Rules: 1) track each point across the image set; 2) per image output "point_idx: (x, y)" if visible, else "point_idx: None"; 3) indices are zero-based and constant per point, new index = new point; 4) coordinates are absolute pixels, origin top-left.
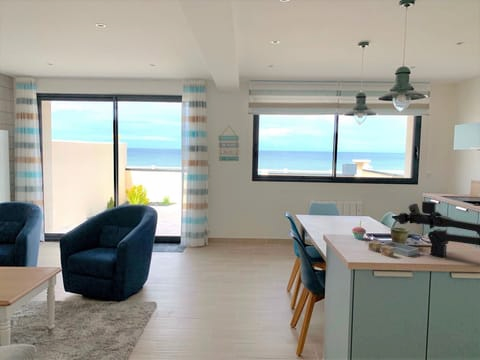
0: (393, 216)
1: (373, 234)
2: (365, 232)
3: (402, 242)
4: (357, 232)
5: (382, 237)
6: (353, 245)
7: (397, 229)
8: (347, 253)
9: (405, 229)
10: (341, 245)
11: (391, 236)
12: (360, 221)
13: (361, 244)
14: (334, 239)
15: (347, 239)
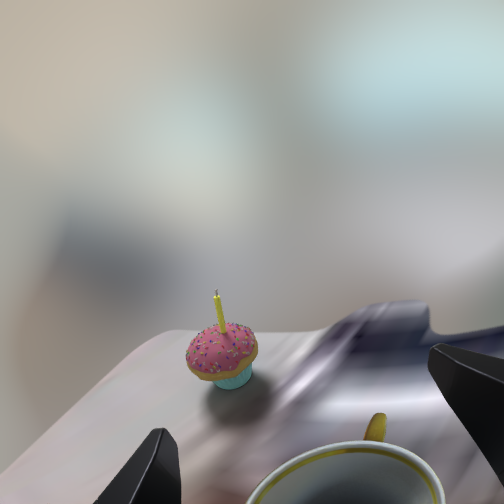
0: (141, 458)
1: (366, 324)
2: (232, 372)
3: None
4: (189, 367)
5: (379, 369)
6: (95, 453)
7: (381, 457)
8: (3, 485)
9: (436, 496)
10: (67, 432)
11: (295, 501)
12: (214, 301)
13: None
14: (125, 374)
15: (164, 385)
